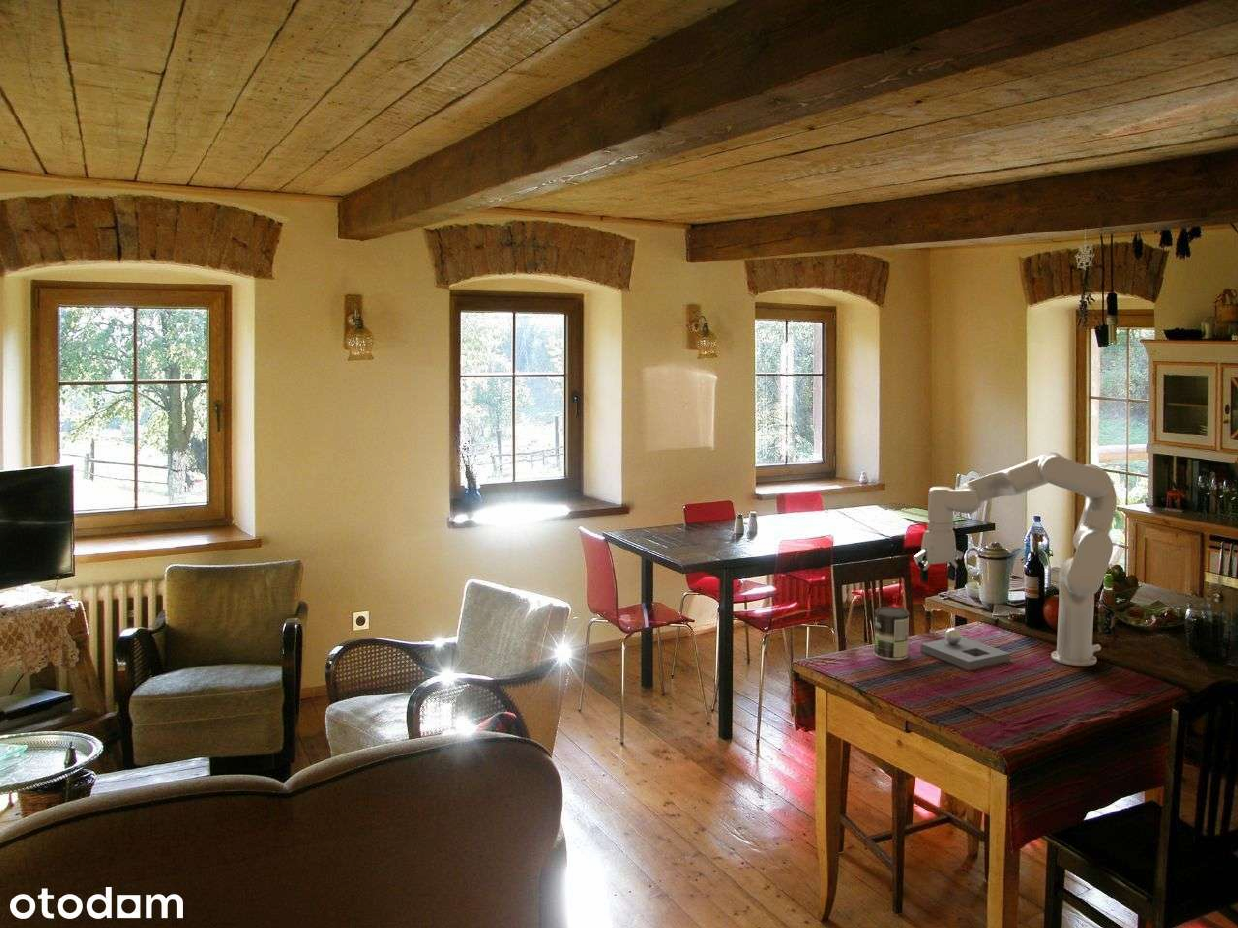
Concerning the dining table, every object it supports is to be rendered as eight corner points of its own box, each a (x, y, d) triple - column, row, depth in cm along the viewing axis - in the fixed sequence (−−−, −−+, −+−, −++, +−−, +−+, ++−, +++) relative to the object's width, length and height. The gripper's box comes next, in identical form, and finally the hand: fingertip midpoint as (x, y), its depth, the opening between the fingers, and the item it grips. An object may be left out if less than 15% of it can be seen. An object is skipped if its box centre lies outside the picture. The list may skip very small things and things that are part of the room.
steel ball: (952, 640, 319) (953, 625, 318) (964, 644, 314) (965, 629, 314) (940, 642, 316) (941, 627, 316) (952, 647, 312) (953, 631, 311)
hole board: (960, 643, 324) (960, 635, 324) (1009, 660, 306) (1010, 653, 306) (920, 651, 316) (920, 643, 316) (968, 670, 299) (968, 661, 298)
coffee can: (876, 660, 309) (877, 615, 307) (872, 649, 319) (873, 606, 317) (910, 661, 307) (911, 616, 305) (905, 650, 317) (907, 607, 316)
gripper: (956, 522, 317) (953, 575, 320) (908, 526, 312) (906, 579, 315) (971, 527, 310) (968, 581, 313) (922, 530, 305) (920, 585, 307)
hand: (937, 580), depth 314 cm, fingers open, 9 cm apart
